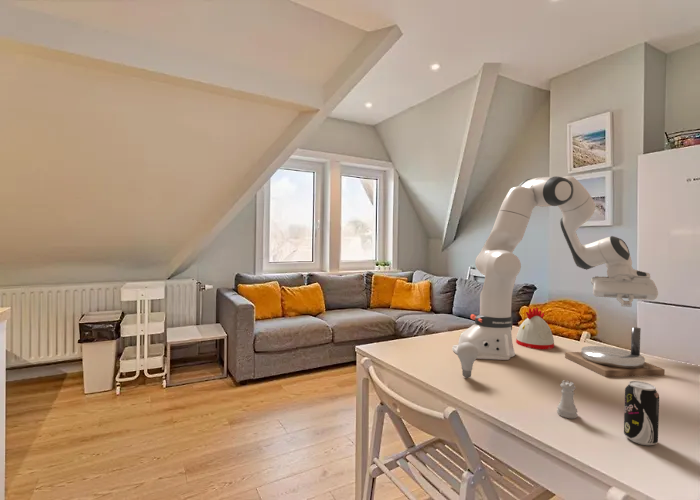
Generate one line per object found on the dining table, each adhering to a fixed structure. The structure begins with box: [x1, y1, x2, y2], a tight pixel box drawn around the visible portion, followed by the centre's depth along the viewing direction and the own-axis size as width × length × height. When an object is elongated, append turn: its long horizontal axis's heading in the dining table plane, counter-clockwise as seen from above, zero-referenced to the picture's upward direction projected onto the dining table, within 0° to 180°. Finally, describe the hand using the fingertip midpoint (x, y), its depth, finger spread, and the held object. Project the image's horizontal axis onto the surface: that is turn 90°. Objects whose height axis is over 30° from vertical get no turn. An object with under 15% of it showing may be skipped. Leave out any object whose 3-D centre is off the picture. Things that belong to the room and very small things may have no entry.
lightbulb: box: [456, 342, 478, 379], centre depth 114 cm, size 6×6×11 cm
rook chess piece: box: [556, 380, 579, 420], centre depth 90 cm, size 4×4×8 cm
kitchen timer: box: [515, 307, 555, 350], centre depth 152 cm, size 14×14×15 cm
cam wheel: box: [580, 326, 646, 368], centre depth 126 cm, size 19×18×11 cm
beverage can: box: [623, 380, 660, 447], centre depth 79 cm, size 6×6×12 cm
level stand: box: [564, 351, 666, 378], centre depth 126 cm, size 20×19×2 cm
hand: (626, 305), depth 139 cm, fingers closed
